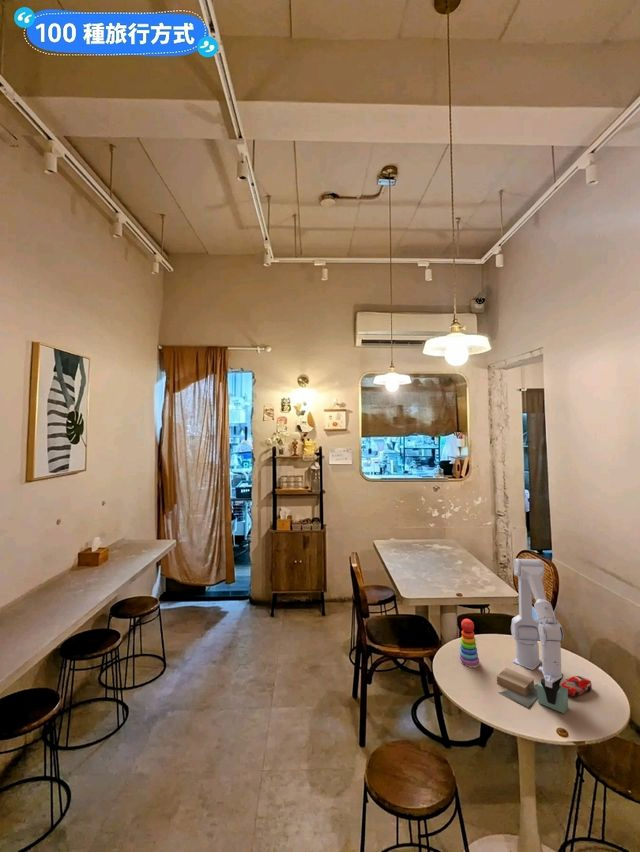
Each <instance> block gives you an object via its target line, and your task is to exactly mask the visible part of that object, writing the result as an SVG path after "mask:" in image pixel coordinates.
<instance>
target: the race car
mask: <svg viewBox="0 0 640 852" xmlns="http://www.w3.org/2000/svg"><path fill="white" fill-rule="evenodd" d="M592 685H593V684H592V681H591V680H590V679H588V678H586V677H584V676H581V675H574V676H571V677H570V678H566V681H563V682H562V683H560V686H562V687H564V688H567V689H568V696H571V697H575V698H577V697H578V696H580V695H582V694H585V693H587V692H588V693H590V692H591V690H592V688H593V687H592Z"/></svg>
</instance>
